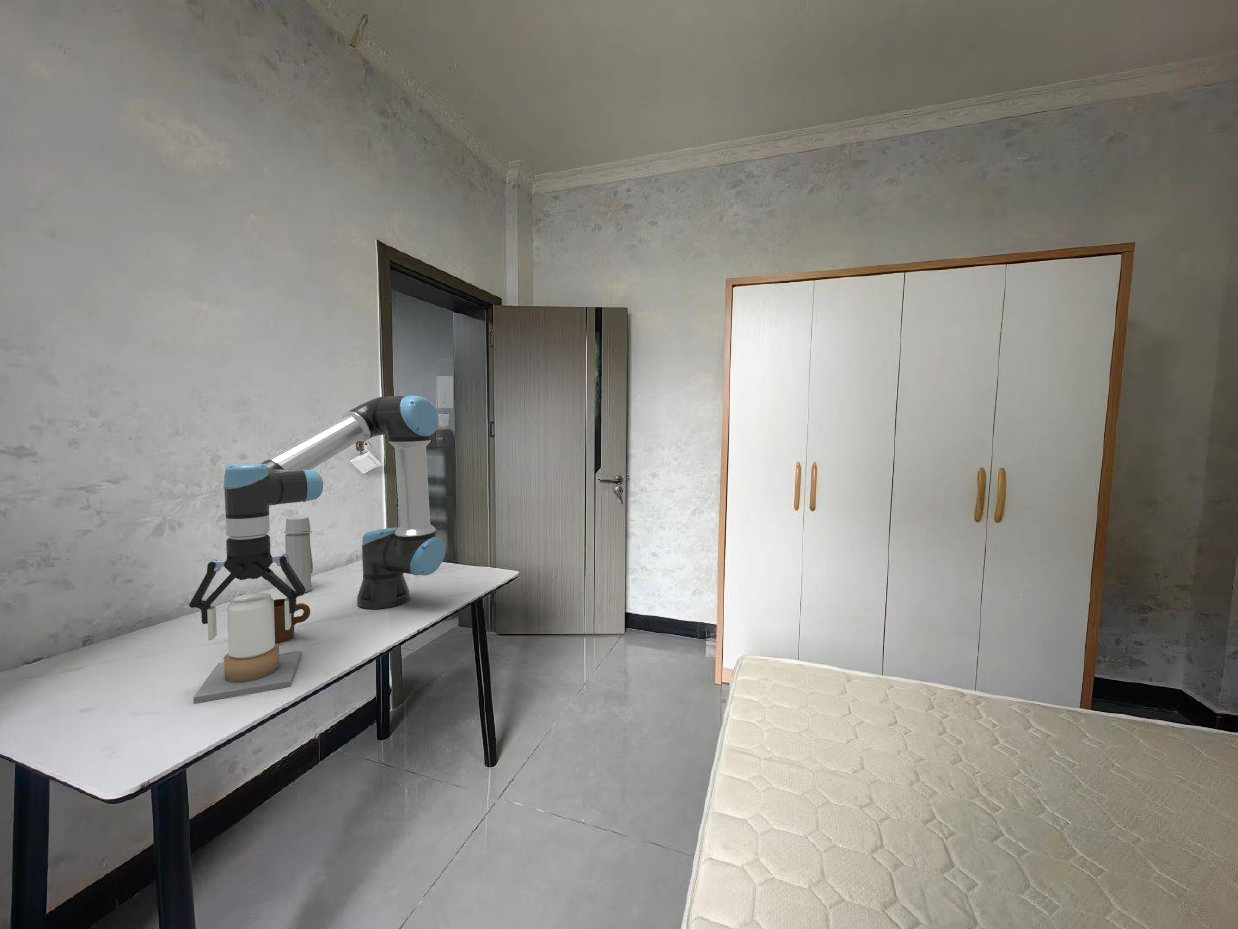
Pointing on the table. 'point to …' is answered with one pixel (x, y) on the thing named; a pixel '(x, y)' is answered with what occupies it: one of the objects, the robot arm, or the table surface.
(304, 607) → the mug
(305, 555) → the water bottle
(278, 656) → the pedestal
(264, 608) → the beverage can
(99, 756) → the table surface
